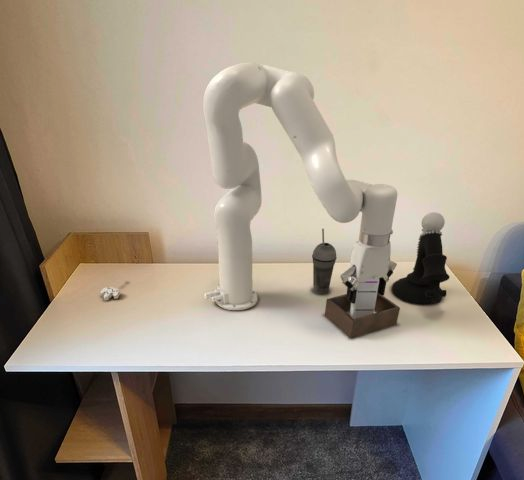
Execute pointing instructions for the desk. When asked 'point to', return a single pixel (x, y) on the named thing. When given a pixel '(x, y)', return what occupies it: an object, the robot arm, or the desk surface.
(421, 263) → the sculpture
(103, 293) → the white flower stem
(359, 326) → the bin
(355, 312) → the syrup box
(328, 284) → the beverage cup
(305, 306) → the desk surface
